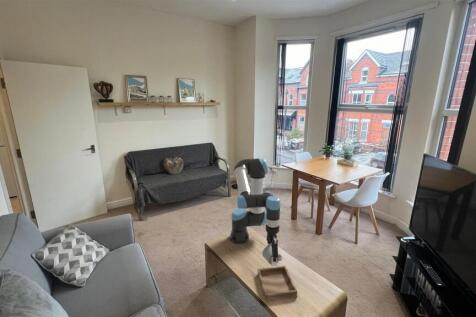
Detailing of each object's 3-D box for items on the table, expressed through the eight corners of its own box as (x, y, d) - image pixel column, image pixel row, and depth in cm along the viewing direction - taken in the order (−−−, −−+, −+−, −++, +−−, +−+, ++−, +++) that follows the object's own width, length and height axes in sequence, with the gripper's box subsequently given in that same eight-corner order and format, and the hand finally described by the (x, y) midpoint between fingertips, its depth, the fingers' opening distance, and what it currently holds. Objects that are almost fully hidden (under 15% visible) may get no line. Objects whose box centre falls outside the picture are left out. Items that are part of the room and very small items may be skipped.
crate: (257, 274, 145) (257, 268, 144) (285, 271, 147) (285, 265, 146) (265, 301, 126) (265, 295, 125) (297, 297, 128) (297, 291, 127)
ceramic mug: (269, 267, 127) (269, 255, 125) (261, 258, 134) (262, 247, 132) (285, 262, 131) (285, 250, 129) (277, 253, 138) (277, 242, 136)
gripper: (261, 215, 136) (261, 248, 142) (270, 236, 115) (269, 274, 121) (274, 214, 137) (273, 247, 143) (285, 235, 116) (283, 272, 121)
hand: (271, 259), depth 132 cm, fingers closed on ceramic mug, 9 cm apart
